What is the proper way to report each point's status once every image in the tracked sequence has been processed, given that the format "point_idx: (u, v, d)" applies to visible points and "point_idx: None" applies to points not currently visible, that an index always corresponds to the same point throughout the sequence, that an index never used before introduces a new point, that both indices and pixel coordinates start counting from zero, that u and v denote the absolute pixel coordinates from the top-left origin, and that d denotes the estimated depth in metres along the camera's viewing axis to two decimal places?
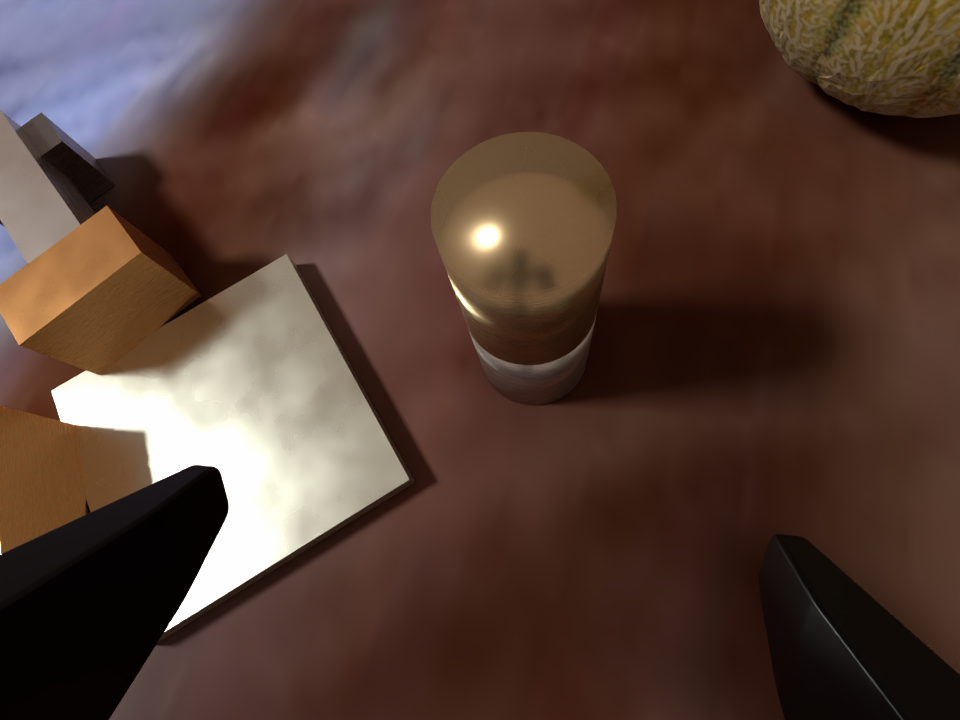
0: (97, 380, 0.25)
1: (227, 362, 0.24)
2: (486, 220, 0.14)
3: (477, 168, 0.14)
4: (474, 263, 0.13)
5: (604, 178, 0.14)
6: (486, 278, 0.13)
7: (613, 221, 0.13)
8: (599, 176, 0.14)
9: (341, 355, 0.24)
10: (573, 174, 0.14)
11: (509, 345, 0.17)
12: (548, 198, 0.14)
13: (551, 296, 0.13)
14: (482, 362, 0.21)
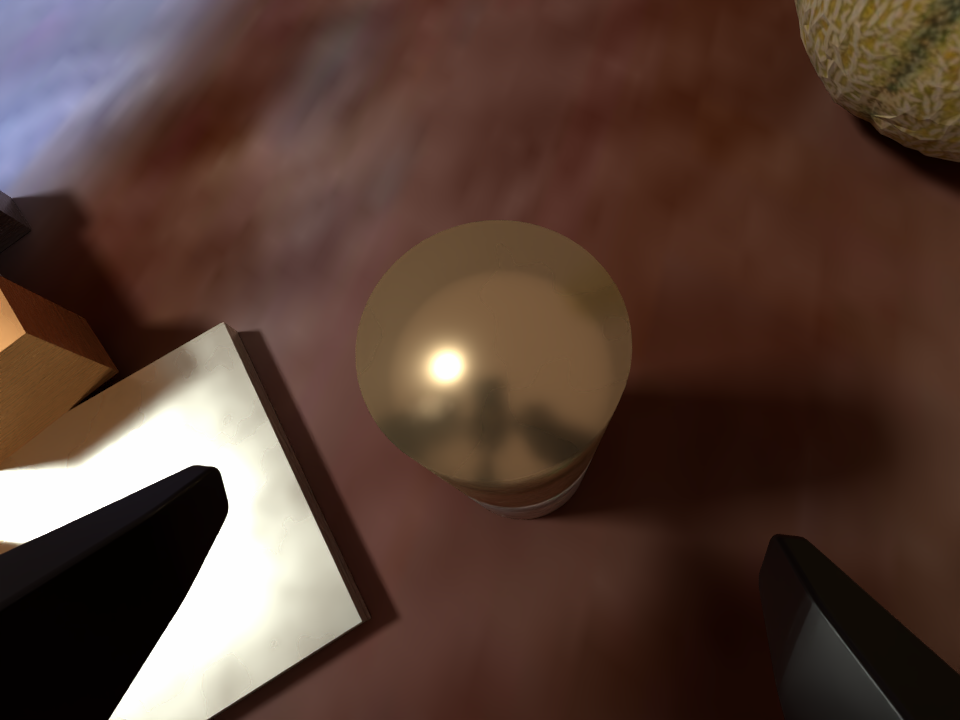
0: None
1: (145, 458, 0.20)
2: (436, 358, 0.09)
3: (426, 274, 0.10)
4: (416, 427, 0.09)
5: (613, 296, 0.09)
6: (434, 453, 0.09)
7: (627, 366, 0.09)
8: (605, 293, 0.09)
9: (284, 453, 0.19)
10: (566, 289, 0.09)
11: (480, 497, 0.12)
12: (529, 324, 0.09)
13: (532, 478, 0.09)
14: None
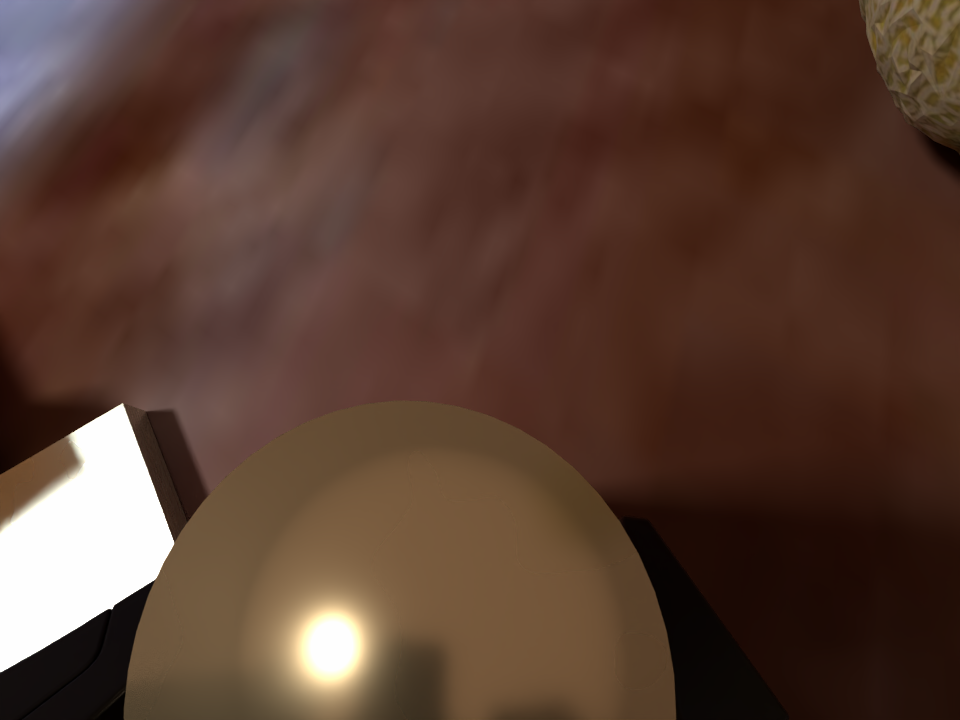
0: None
1: (13, 588, 0.15)
2: (279, 707, 0.05)
3: (276, 512, 0.05)
4: None
5: (635, 584, 0.05)
6: None
7: None
8: (620, 578, 0.05)
9: None
10: (542, 560, 0.05)
11: None
12: (466, 641, 0.05)
13: None
14: None
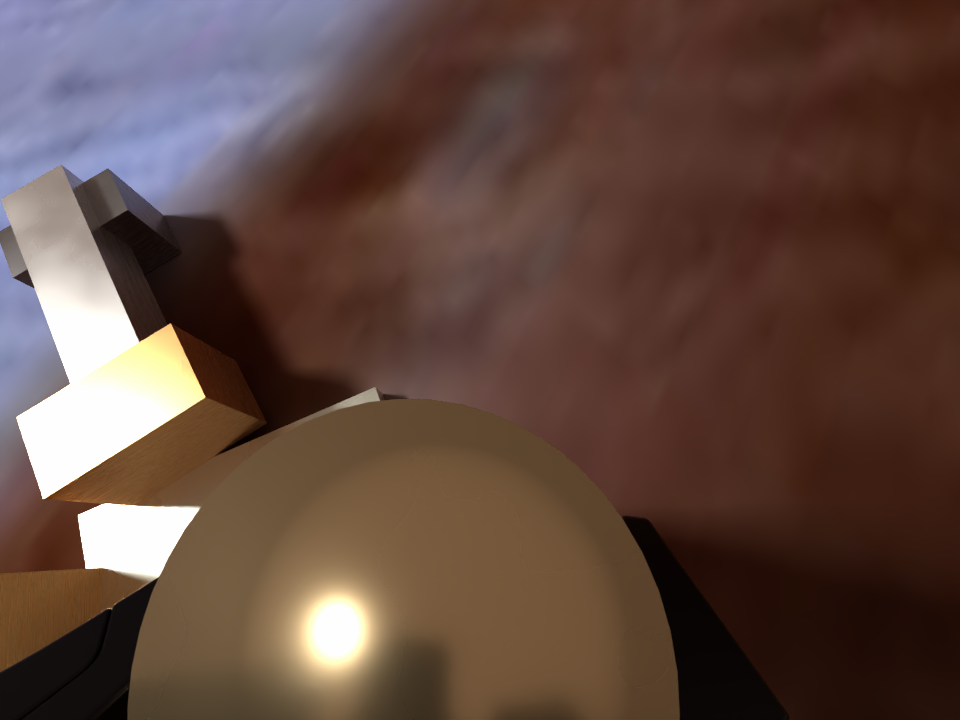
0: (133, 512, 0.21)
1: None
2: (283, 704, 0.05)
3: (279, 510, 0.05)
4: None
5: (639, 581, 0.05)
6: None
7: None
8: (624, 575, 0.05)
9: None
10: (545, 557, 0.05)
11: None
12: (470, 638, 0.05)
13: None
14: None
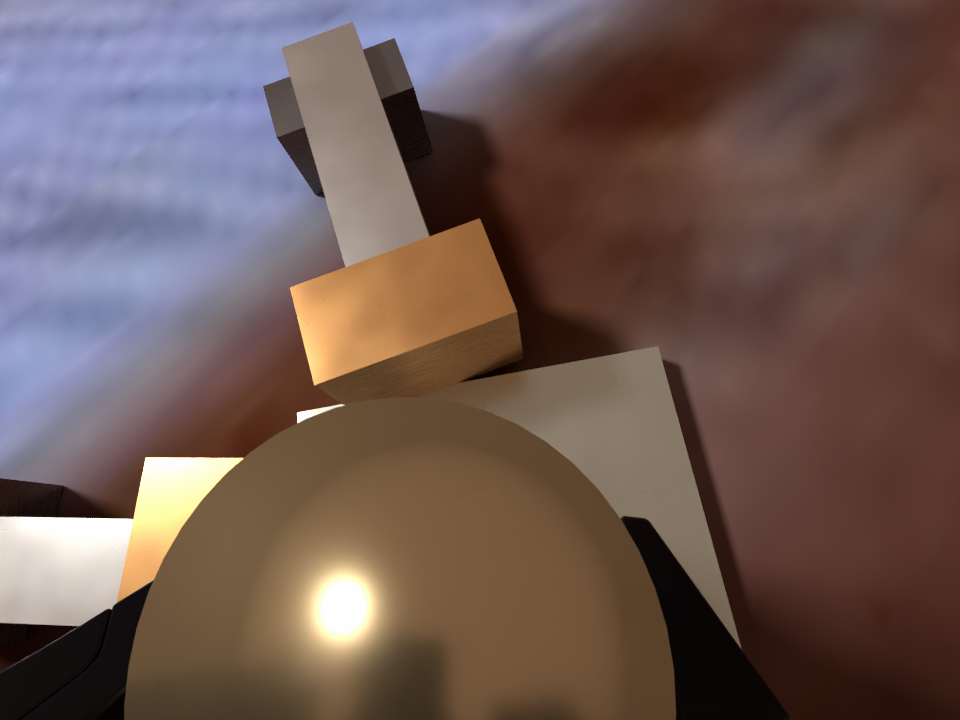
0: None
1: None
2: (279, 702, 0.05)
3: (276, 508, 0.05)
4: None
5: (635, 579, 0.05)
6: None
7: None
8: (620, 573, 0.05)
9: (708, 535, 0.16)
10: (541, 556, 0.05)
11: None
12: (466, 637, 0.05)
13: None
14: None
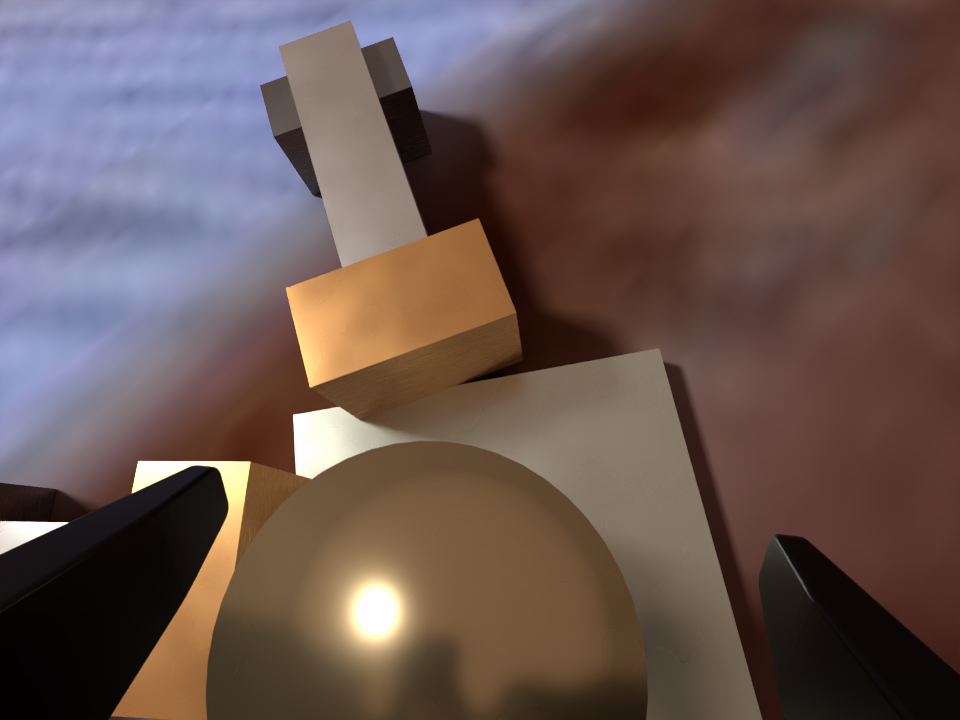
0: (355, 426, 0.18)
1: None
2: (332, 691, 0.06)
3: (324, 533, 0.06)
4: None
5: (617, 592, 0.06)
6: None
7: None
8: (605, 587, 0.06)
9: (711, 540, 0.16)
10: (541, 573, 0.06)
11: None
12: (481, 638, 0.06)
13: None
14: None
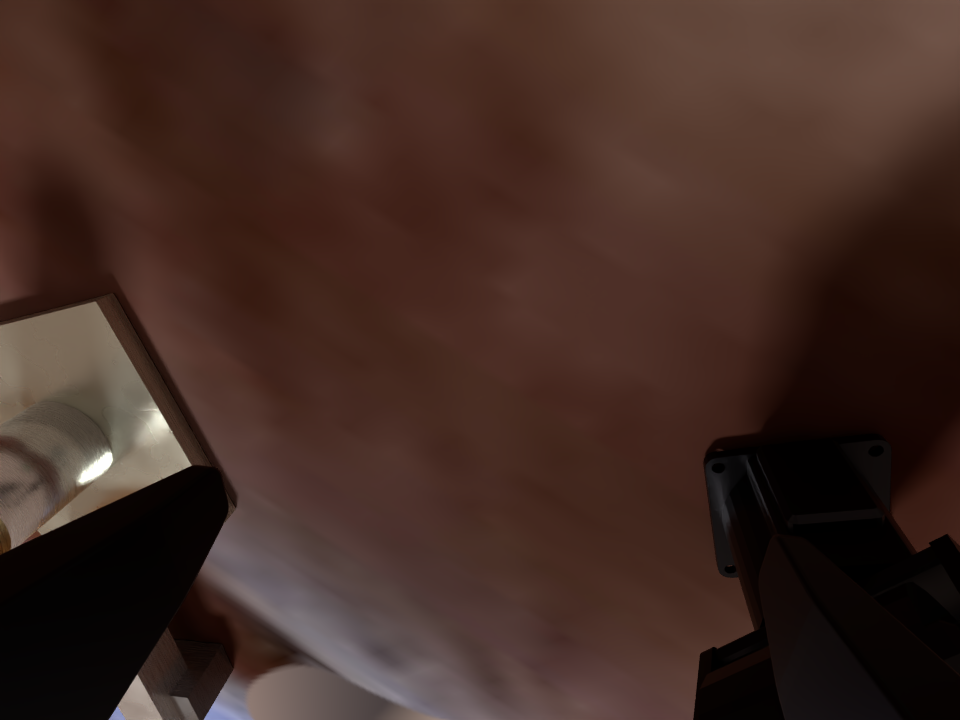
0: None
1: None
2: None
3: None
4: None
5: None
6: None
7: None
8: None
9: None
10: None
11: None
12: None
13: None
14: None
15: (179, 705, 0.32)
